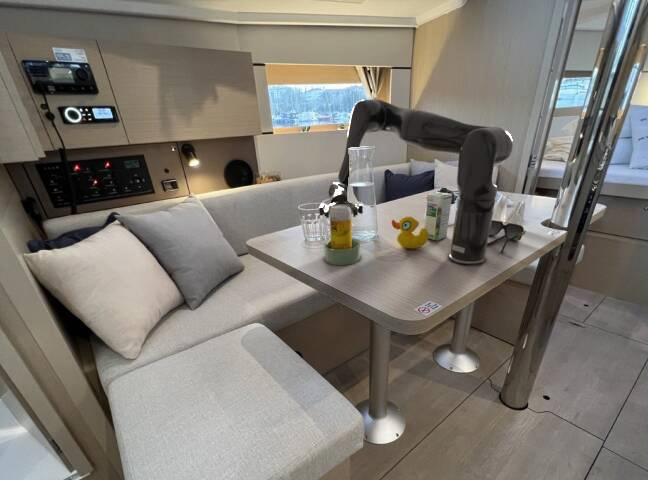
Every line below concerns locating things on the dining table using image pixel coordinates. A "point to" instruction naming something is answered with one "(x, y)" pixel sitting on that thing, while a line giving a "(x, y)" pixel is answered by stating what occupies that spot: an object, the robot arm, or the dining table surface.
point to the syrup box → (437, 215)
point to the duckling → (410, 233)
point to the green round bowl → (342, 254)
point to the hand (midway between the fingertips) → (340, 214)
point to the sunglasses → (507, 230)
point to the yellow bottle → (340, 227)
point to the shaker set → (501, 211)
